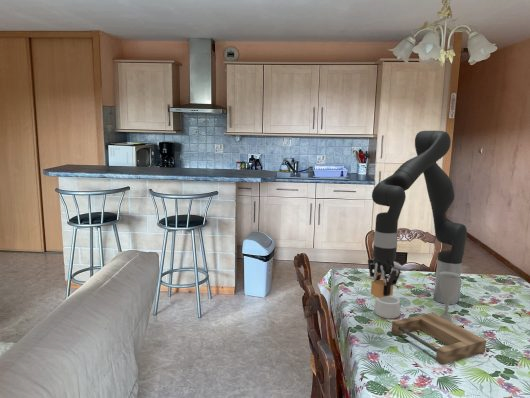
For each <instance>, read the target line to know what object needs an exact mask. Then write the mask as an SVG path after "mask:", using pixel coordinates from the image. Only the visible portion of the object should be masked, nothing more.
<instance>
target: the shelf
mask: <svg viewBox="0 0 530 398" xmlns="http://www.w3.org/2000/svg"><path fill="white" fill-rule="evenodd" d="M452 322H453V321H452ZM452 322H450V321H448V320H446V319H444V318H442V317H440V315H438V314H436V313H434V312H428V313H424V314H419V315H416V316H411V317H407V318H401V319H397V320H393V321H391V330H390V331H391V333H392V334H394V336H400V335H403V334H405V335H407V336H409V337H410V338H412V339H414V340H415V341H417V342H418V343H420V344H421V345H423V346H425V347H427V348H428V349H430V350H431V351H433V352H434V353H435V361H436V362H437V363H439V364H441V365H446V364H450V363H452V362H455V361H459V360H463V359H467V358H469V357H472V356H475V355H479V354H482V353H485V352H486V345H487V339H485V338H484V337H481V336H479V335H477V334H475V333H473V332H471V331H469V330H467V329H465V328H463V327H462V326H460V325H457V324H455V323H454V322H453V323H452ZM420 330H421V331H422V332H424V333H425V334H427V335H428V336H431V337H433V338H434V339H436V340H437V341H439V342H441V343H442V344H444V346H441V347H435V346H434V345H432V344H430V343H429V342H427V341H425V340H424V339H422V338H421V337H419V336H417V335H415V334H414V333H413V332H415V331H416V332H417V331H420Z"/></svg>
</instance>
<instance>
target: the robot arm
mask: <svg viewBox="0 0 530 398" xmlns="http://www.w3.org/2000/svg"><path fill="white" fill-rule="evenodd" d="M451 142H452V141H451V136H450V134H449V133H448V132H447V131H444V130H421V131H418V132H417V133H416V135H415V138H414V149H415V152H416V156H414V157H411V158H409V159H408V160H406V161H405V162H404V163H402V164H401V165H399V167H398V168H397V169H396V170H395V171H394V173H393V174H391V175H389V176H387V177H386V178H385V179H384V178H383V180H381V181H380V182H379V183H377V184H376V185H375V187H374V188H373V190H372V192H371V199H372V202H374V203H375V204H376V205H378V206H384V207H388V210H387V211H385V212H379V213H377V215H376V216H375V227H374V236H373V246H372V257H373V258H370V259H368V260H367V264H368V270H369V276H370V277H372V278H373V281H375V280H381V279H384V291H383V295H384V296H389V295H390V291H391V285H393V286H395V285H397V283H398V280H399V278H400V274H401V269H397V268H396V267H395V260H396V259H397V252H398V251H397V249H398V225H399V224H398V223H399V218H400V216H401V213H402V209H403V207H404V204H405V202H406V197H407V196H406V191H407V190H409V189H410V187H412V185H413V184H414V183H415V182H416V181H417V179H418V178H419V177H420V176H421V175H422V174H423V176H424V180H425V181H424V182H425V185H426V186H425V187H426V190H427V194H428V198H429V202H430V206H431V211H432V217H433V225H434V227H433V228H434V234H435V237H436V241H438V242H439V243H442V244H446V245H450V246H451V248H450V249H449V250H441V251H439V252H438V254H437V260H436V261H437V262H436V273H435V281H434V291H433V300H434V301H436V302H438V303H441V304H444V305H445V302H446V299H445V298H444V297H443V295H442V293H441V290H440V274H439V273H440V272H453V273H457V274H459V275H460V276H461V275H462V274H461V273H462V266H463V265H462V263H463V257H464V255H465V247H466V241H467V236H468V231H467V226H466V225H465V224H463V223H458V222H454V221H449V220H448V219H447V211H448V210H449V208H450V207H451V205H452V204H453V202H454V201H455V191H454V187H453V181H452V179H451V178H450V177H449V175H448V174H447V173H446V172H445V171H444V170H443V169H442V167H441V166H439V164H438V163H437V162H439V160H441V159H442V158H443V157H444V156H445V155H447V153H448V152H449V151H450V147H451V145H452V144H451ZM387 280H388V282H387ZM461 288H462V279H461V278H460V279H459V284H458V290H457V292H456V294H455V295H454V296H453V298H452V299H449V305H456V304H457V303H458V302H460V298H461Z"/></svg>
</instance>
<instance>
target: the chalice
mask: <svg viewBox="0 0 530 398" xmlns="http://www.w3.org/2000/svg"><path fill="white" fill-rule="evenodd" d="M439 274H440V290H441V293H442V295H443V297H444V298H445V299H446V302H445V304H444V305H445V306H444V308H443V309H444V312H443V313H441V314H440V315H439V316H440V317H442V318H444V319H446V320H448V321H450V322H452V323H454V322H453V320H452V316H451V315H450V314H449V313H448V311H449V310H450V308H449V306H450V304H449V299H452V298H453V296H454V295H455V294H456V292H457V290H458V284H459V279H461V277H462V276H461V275H459V274H457V273H453V272H440V273H439Z"/></svg>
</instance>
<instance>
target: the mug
mask: <svg viewBox="0 0 530 398" xmlns="http://www.w3.org/2000/svg"><path fill="white" fill-rule="evenodd" d="M373 310H374V311H373V312H374V313H375V315H376V316H378V317H380V318H384V319H389V320H390V319H392V320H393V319H397V318H398V317H400V316H401V302H400V299H399V298H398V297H396V296H393V295H392V296H386V297H381V298H378V297H376V298H375V303H374V309H373Z"/></svg>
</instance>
